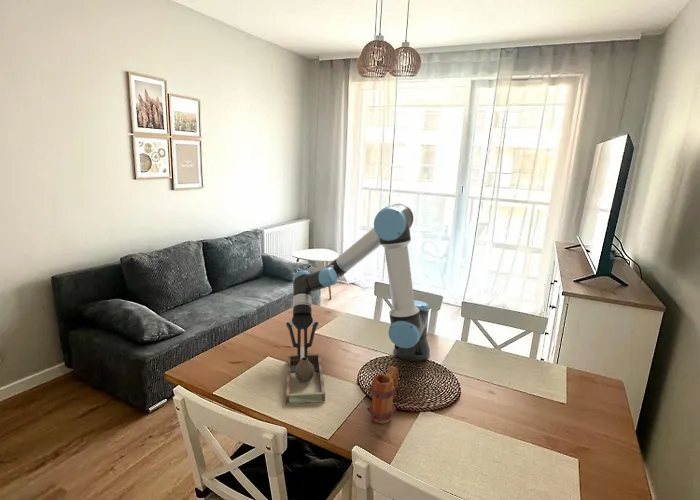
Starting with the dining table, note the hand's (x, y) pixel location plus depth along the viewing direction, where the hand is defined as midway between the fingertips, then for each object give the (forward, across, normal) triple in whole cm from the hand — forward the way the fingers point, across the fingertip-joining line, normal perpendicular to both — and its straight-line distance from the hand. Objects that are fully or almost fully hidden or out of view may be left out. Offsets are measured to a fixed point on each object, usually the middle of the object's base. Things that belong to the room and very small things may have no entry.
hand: (302, 364), depth 151 cm
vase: (+6, -1, 0) cm, 6 cm away
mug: (+22, -26, +16) cm, 38 cm away
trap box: (+6, -1, 0) cm, 6 cm away
